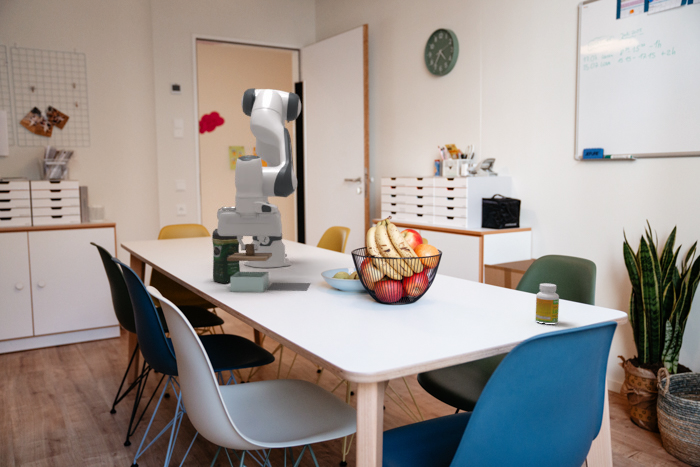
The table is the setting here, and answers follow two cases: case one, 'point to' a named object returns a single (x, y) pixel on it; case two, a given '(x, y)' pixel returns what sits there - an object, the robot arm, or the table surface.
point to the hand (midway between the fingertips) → (250, 250)
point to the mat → (289, 286)
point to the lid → (249, 255)
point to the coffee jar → (224, 257)
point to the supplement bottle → (547, 304)
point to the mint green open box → (249, 281)
